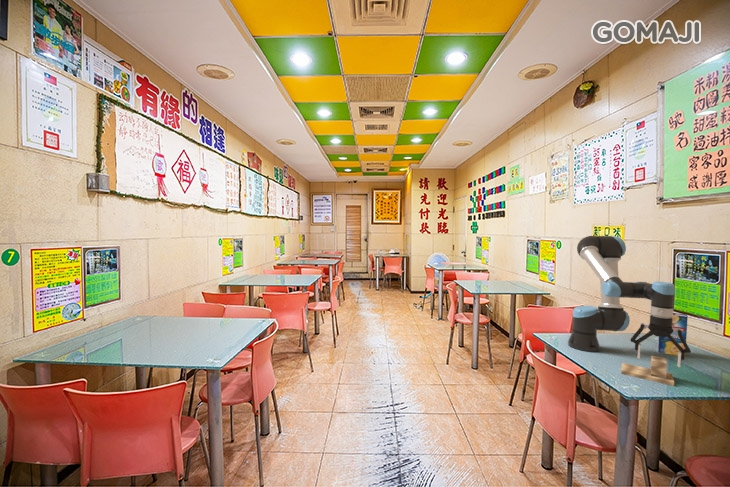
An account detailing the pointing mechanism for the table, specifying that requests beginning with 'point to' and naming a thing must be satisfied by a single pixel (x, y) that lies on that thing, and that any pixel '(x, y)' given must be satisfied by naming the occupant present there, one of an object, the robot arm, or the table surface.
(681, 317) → the blue food box
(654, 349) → the table surface
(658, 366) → the block
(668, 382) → the board
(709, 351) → the table surface
